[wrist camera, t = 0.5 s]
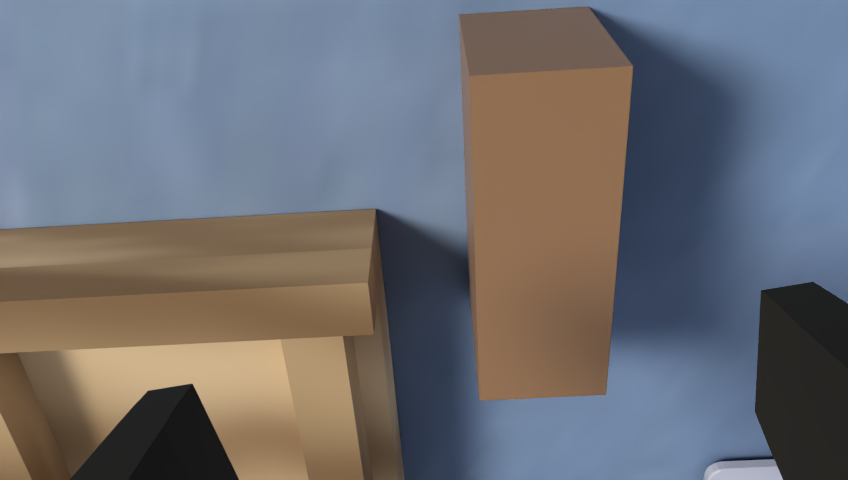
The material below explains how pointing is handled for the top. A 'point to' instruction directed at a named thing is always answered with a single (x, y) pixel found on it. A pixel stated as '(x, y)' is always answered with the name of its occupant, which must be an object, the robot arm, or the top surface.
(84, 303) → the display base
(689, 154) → the top surface
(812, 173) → the top surface
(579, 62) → the tan wooden post
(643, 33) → the top surface
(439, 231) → the top surface
